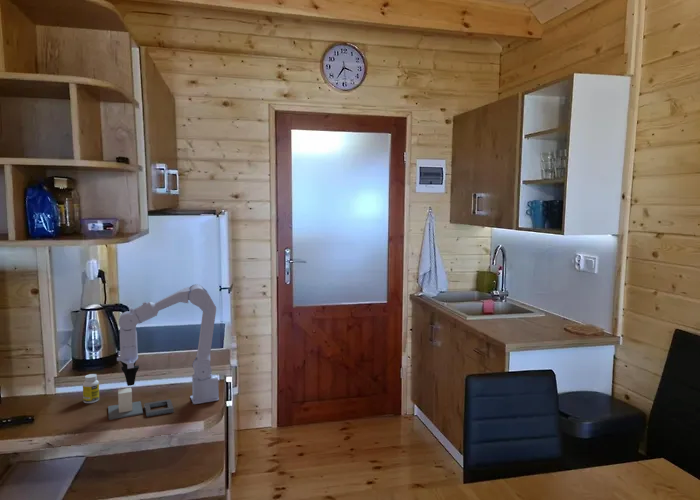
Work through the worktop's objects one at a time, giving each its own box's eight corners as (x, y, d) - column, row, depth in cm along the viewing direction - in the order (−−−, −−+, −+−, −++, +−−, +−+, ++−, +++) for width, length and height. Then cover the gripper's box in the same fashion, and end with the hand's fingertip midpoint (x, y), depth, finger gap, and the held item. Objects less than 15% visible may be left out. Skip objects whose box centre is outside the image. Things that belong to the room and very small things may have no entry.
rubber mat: (140, 402, 186) (140, 401, 186) (143, 414, 176) (142, 412, 176) (108, 407, 181) (108, 406, 181) (108, 419, 171) (108, 418, 171)
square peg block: (131, 405, 182) (131, 387, 181) (132, 410, 178) (131, 391, 177) (118, 407, 180) (117, 389, 179) (119, 412, 176) (118, 393, 175)
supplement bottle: (92, 404, 184) (91, 378, 183) (80, 402, 185) (78, 377, 184) (102, 398, 189) (101, 373, 188) (90, 397, 190) (89, 372, 189)
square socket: (170, 402, 186) (170, 399, 186) (173, 412, 178) (173, 408, 178) (144, 407, 182) (144, 403, 182) (146, 417, 174) (146, 412, 174)
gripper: (115, 341, 182) (117, 376, 184) (117, 352, 170) (118, 390, 171) (136, 338, 186) (137, 373, 187) (139, 349, 173) (140, 387, 174)
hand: (130, 381), depth 179 cm, fingers open, 7 cm apart
